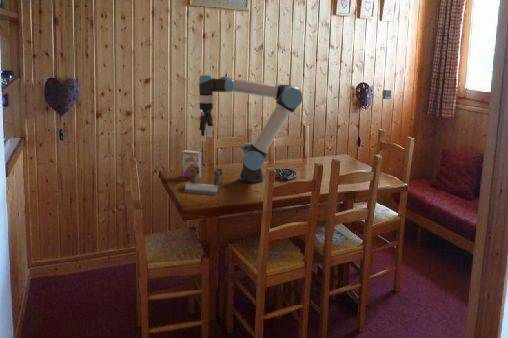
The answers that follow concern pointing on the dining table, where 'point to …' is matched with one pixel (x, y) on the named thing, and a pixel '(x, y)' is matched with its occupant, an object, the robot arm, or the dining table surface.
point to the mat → (200, 192)
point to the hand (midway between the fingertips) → (206, 139)
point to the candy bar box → (190, 162)
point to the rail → (202, 187)
